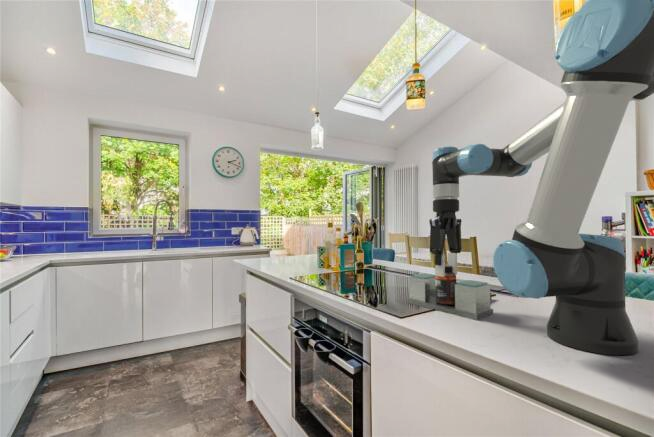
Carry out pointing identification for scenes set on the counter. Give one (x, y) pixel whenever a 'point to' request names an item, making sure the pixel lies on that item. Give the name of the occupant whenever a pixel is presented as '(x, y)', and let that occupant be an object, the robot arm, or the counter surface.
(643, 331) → the counter surface
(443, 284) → the supplement bottle
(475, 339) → the counter surface
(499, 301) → the counter surface
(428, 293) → the rail
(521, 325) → the counter surface
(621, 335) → the robot arm
